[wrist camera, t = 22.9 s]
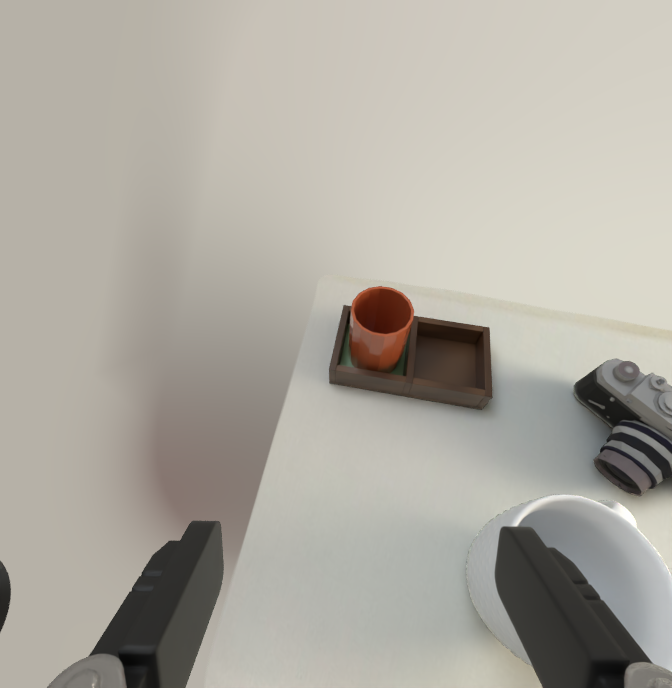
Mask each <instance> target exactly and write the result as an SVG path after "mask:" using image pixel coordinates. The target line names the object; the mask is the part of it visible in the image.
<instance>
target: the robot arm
mask: <svg viewBox="0 0 672 688" xmlns="http://www.w3.org/2000/svg"><path fill="white" fill-rule="evenodd" d="M223 566H224V565H223V549H222V533H221V524H220V522H219V521H192V522H191V523H190V524H189V526H188V528H187V529H186V531H185V533H184V535H183V536H182V539H181V540H180V541H169V542H168V543H166V544H165V545H164V546H163V547H162V548H161V549H160V550H159V551H157V552H156V553H155V554H154V555H153V556H152V557H151V559H150V561H149V562H148V564H147V565H146V567H145V568H144V570H143V572H142V575H141V576H140V577H139V578H138V580H137V581H136V583H135V584H134V586H133V588H132V591H131V592H129V594H128V595H127V597H126V599H125V600H124V602H123V604H122V605H121V606H120V608H119V610H118V611H117V613H116V614H115V616H114V618H113V619H112V621H111V622H110V624H109V626H108V627H107V629H106V631H105V632H104V633H103V635H102V637H101V638H100V640H99V641H98V643H97V645H96V646H95V648H94V650H93V651H92V653H91V654H90V655H89V656H88V657H86V658H84V659H82V660H80V661H78V662H76V663H74V664H73V665H71V666H70V667H68V668H67V669H66V670H64V671H63V672H62V673H61V674H59V675H58V676H57V677H56V678H55V679H54V680H53V681H52V682H51V683H50V685H49V686H48V687H47V688H185V687H186V684H187V681H188V679H189V676H190V673H191V670H192V668H193V665H194V662H195V659H196V656H197V654H198V651H199V648H200V645H201V643H202V640H203V637H204V634H205V631H206V629H207V626H208V623H209V620H210V617H211V615H212V612H213V609H214V606H215V604H216V600H217V598H218V595H219V592H220V589H221V585H222V579H223V570H224V569H223V568H224V567H223ZM495 583H496V588H497V592H498V595H499V597H500V599H501V601H502V604H503V606H504V608H505V610H506V612H507V614H508V616H509V618H510V620H511V622H512V624H513V626H514V628H515V630H516V633H517V635H518V637H519V639H520V641H521V643H522V645H523V647H524V649H525V651H526V653H527V655H528V657H529V659H530V661H531V664H532V666H533V668H534V670H535V672H536V674H537V676H538V678H539V680H540V682H541V684H542V686H543V688H672V672H671V671H669V670H667V669H665V668H663V667H661V666H658V665H655V664H653V663H652V661H651V660H650V659H649V658H648V656H647V655H646V654H645V653H644V651H643V650H642V649H641V648H640V646H639V645H638V644H637V642H636V641H635V640H634V639H633V637H632V636H631V635H630V634H629V632H628V631H627V630H626V628H625V627H624V626H623V625H622V623H621V622H620V621H619V620H618V618H617V617H616V616H615V614H614V613H613V612H612V611H611V609H610V608H609V607H608V606H607V604H606V603H605V602H604V600H601V599H600V595H599V594H598V593H597V592H596V590H595V589H594V588H593V586H592V585H591V584H589V583H588V580H587V579H586V578H585V576H584V575H583V574H582V573H581V571H580V570H579V569H578V567H577V566H576V565H575V564H574V563H573V562H572V561H571V560H570V559H568V558H567V557H566V556H565V555H563V554H562V553H561V552H559V551H558V550H557V549H556V548H554V547H547V546H546V545H545V544H544V542H543V541H542V540H541V538H540V537H539V536H538V534H537V533H536V532H535V530H534V529H533V528H531V527H521V526H503V527H502V528H501V529H500V533H499V541H498V548H497V556H496V564H495Z"/></svg>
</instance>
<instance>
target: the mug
mask: <svg viewBox="0 0 672 688" xmlns="http://www.w3.org/2000/svg"><path fill="white" fill-rule="evenodd" d="M503 526H521V527H531V528H533V529H534V530H535V532H536V533H537V534H538V536H539V537H540V538H541V540H542V541H543V542H544V544H545V545H546V546H547V547H554V548H556V549H557V550H558V551H559V552H561V553H562V554H563V555H565V556H566V557H567V558H568V559H570V560H571V561H572V562H573V563H574V564H575V565H576V566H577V567H578V569H579V570H580V571H581V573H582V574H583V575H584V576H585V578H586V579H587V580H588V583H589V584H591V585H592V586H593V588H594V589H595V590H596V592H597V593H598V594H599V595H600V599H601V600H604V602H605V603H606V604H607V606H608V607H609V608H610V609H611V611H612V612H613V613H614V614H615V616H616V617H617V618H618V620H619V621H620V622H621V623H622V625H623V626H624V627H625V628H626V630H627V631H628V632H629V634H630V635H631V636H632V637H633V639H634V640H635V641H636V642H637V644H638V645H639V646H640V648H641V649H642V650H643V651H644V653H645V654H646V655H647V656H648V658H649V659H650V660H651V661H652V663H653V664H655V665H658V666H661V667H663V668H665V669H667V670H669V671H671V672H672V575H671V573H670V571H669V569H668V567H667V565H666V564H665V562H664V561H663V559H662V557H661V556H660V554H659V553H658V551H657V550H656V549H655V547H654V546H653V545H652V544H651V543H650V541H649V540H648V539H647V538H646V537H645V536H644V534H643V533H642V532H641V531H640V530H638V529H637V528H636V521H635V519H634V517H633V516H632V514H631V513H630V512H629V511H628V510H627V509H626V508H625V507H624V506H623V505H621V504H620V503H618V502H616V501H612V500H603V501H598V502H597V501H594V500H592V499H589V498H585V497H581V496H576V495H568V494H558V495H549V496H545V497H541V498H538V499H535V500H531V501H528V502H526V503H521V504H519V505H518V506H515V507H512V508H510V509H509V510H505V511H504V512H503V513H502V514H498V515H497V516H496V517H495V518H494V519H492V520H490V521H489V523H488V524H486V525H485V526H484V527H483V529H482V530H480V531H479V533H478V535H477V536H476V538H475V539H474V541H473V543H472V545H471V548H470V551H469V553H468V559H467V567H466V576H467V583H468V589H469V593H470V596H471V600H472V601H473V604H474V606H475V609H476V610H477V612H478V613H479V615H480V617H481V619H482V621H483V622H484V623H485V624H486V625H487V628H488V629H489V630H490V631H491V632H492V633H493V634H494V636H495V637H496V638H497V639H498V640H499V641H500V642H501V643H502V644H503V645H504V646H505V647H506V648H507V649H509V650H510V651H511V652H512V653H513V654H514V655H515V656H517V657H519V658H521V659H522V660H523V661H524V662H525V663H527V664H529V665H531V666H532V664H531V661H530V659H529V657H528V655H527V653H526V651H525V649H524V647H523V645H522V643H521V641H520V639H519V637H518V635H517V633H516V630H515V628H514V626H513V624H512V622H511V620H510V618H509V616H508V614H507V612H506V610H505V608H504V606H503V604H502V601H501V599H500V597H499V595H498V592H497V588H496V583H495V564H496V556H497V548H498V541H499V533H500V529H501V528H502V527H503ZM532 667H533V666H532Z"/></svg>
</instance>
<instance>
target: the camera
mask: <svg viewBox="0 0 672 688" xmlns="http://www.w3.org/2000/svg"><path fill="white" fill-rule="evenodd" d="M574 395H575V396H576V398H577V400H579V401H580V402H581V403H582V404H583V405H585V406H586V407H587V408H588V409H590V410H591V411H592V412H593V413H595V414H596V415H597V416H598V417H599V418H601V419H602V420H603V421H604V422H606V423H607V424H608V425H609V426H610V427H612V428H613V431H612V434H611V436H610V437H609V438H608V439H607V444H605V445H604V446H603V447H602V448H601V449H600V452H601V454H599V455H598V456H597V457H596V458H595V459H594V463H595V466H596V467H597V468H598V469H599V471H600V472H601V473H602V474H603V475H604V476H605V477H606V478H608V479H609V480H610V481H611V482H612V483H613V484H615V485H616V486H618V487H620V488H621V489H623V490H624V491H626V492H628V493H630V494H632V495H637V496H641V495H642V494H643V493H644V492H645V491H646V490H647V489H653V488H654V487H655V486H656V485H658V484H659V483H660V482H661V481H662V480H664V479H666V478H668V477H670V476H672V386H670V385H669V384H667V381H666V379H664V378H663V377H661V376H656V375H655V374H653V373H651V374H649V375H647V376H645V375H644V374H643V373H641V372H640V370H639V367H638V366H637V365H636V364H635V363H633V362H630V361H622V360H619V359H612V360H608V361H606V362H604V363H603V364H601V365H600V366H599V367H597V368H596V369H595V370H593V371H592V372H590V373H589V374H588V375H586V376H585V377H583V378H582V379H581V380H579V381H578V382H576V384H575V385H574Z"/></svg>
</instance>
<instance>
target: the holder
mask: <svg viewBox="0 0 672 688" xmlns="http://www.w3.org/2000/svg"><path fill="white" fill-rule="evenodd" d="M351 307H352V306H346V305H344V306H343V311H342V315H341V320H340V324H339V328H338V333H337V337H336V341H335V346H334V350H333V354H332V359H331V363H330V367H329V383H332V384H338V385H344V386H349V387H355V388H361V389H367V390H372V391H378V392H384V393H389V394H395V395H401V396H406V397H412V398H418V399H423V400H429V401H435V402H441V403H446V404H452V405H458V406H463V407H469V408H475V409H480V410H482V408H483V407H484V406H485V405H486V404H487V403H488V402H489V400H490V399H491V398H492V376H491V352H490V329H489V327H482V326H476V325H470V324H463V323H456V322H450V321H443V320H437V319H430V318H424V317H418V316H413V322H412V325H411V328H410V331H409V335H408V338H407V341H406V344H405V347H404V351H403V354H402V357H401V360H400V362H399V364H398V366H397V367H396V369H395V370H394V371H392V372H391V373H383V372H377V371H371V370H365V369H360V368H355V367H354V366H353V365H352V363H351V361H350V359H349V353H348V348H349V332H350V316H351Z"/></svg>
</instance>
